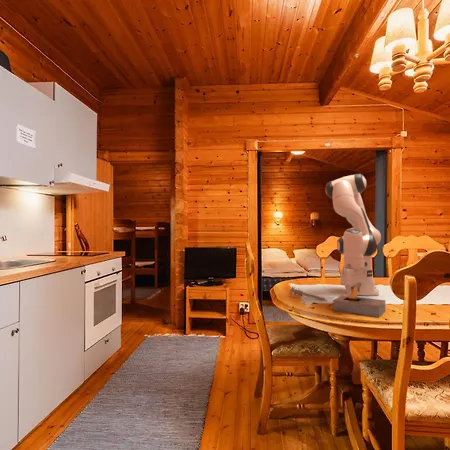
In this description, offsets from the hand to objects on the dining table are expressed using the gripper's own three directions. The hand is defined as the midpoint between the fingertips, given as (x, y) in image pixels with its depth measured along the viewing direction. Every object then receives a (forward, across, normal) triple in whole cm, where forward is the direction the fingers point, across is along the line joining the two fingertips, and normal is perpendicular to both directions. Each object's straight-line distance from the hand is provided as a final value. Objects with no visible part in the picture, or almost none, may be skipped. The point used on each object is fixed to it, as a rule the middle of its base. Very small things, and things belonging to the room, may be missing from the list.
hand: (353, 292), depth 162 cm
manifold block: (+8, 0, -3) cm, 8 cm away
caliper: (+8, +6, +29) cm, 31 cm away
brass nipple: (+7, 0, 0) cm, 7 cm away
